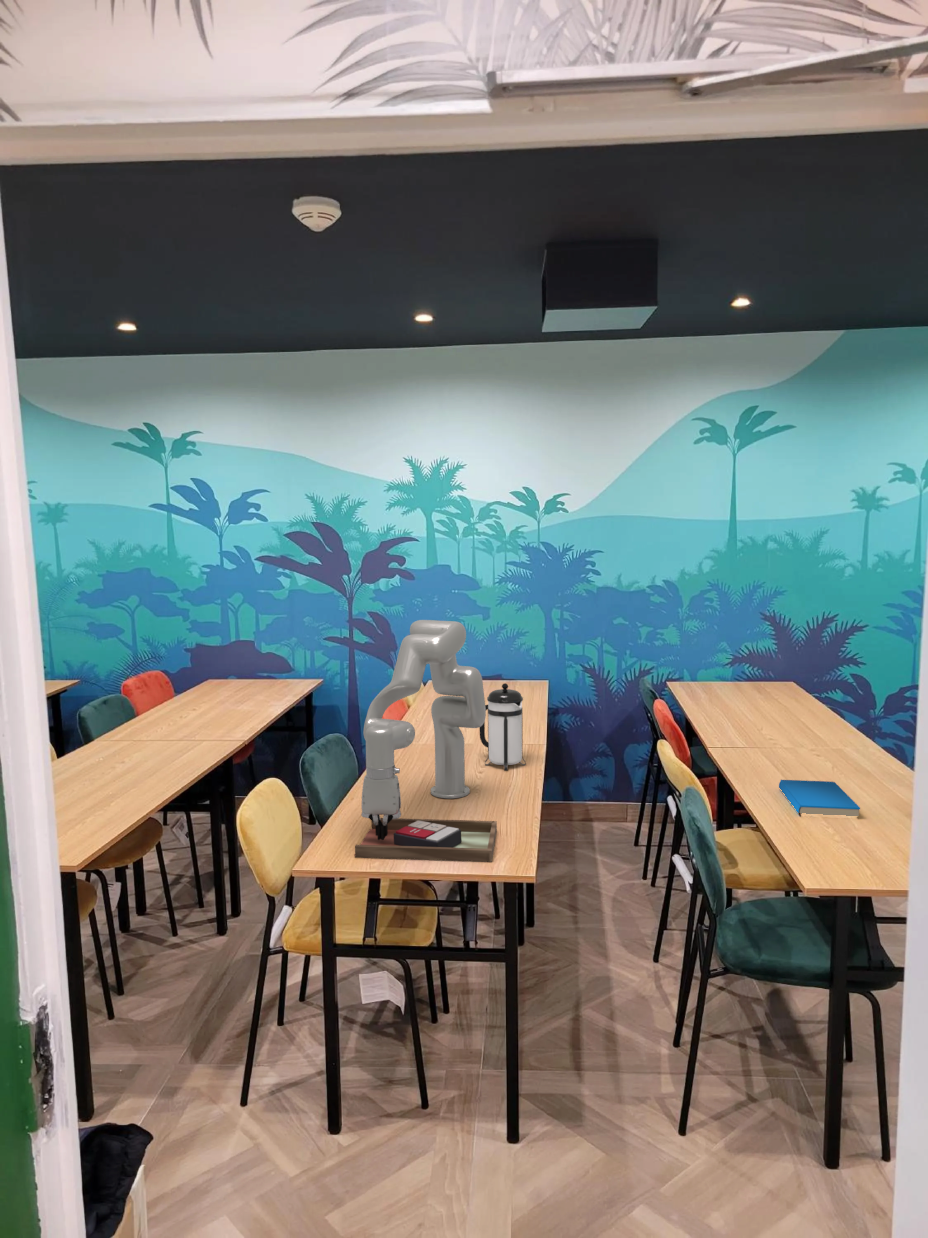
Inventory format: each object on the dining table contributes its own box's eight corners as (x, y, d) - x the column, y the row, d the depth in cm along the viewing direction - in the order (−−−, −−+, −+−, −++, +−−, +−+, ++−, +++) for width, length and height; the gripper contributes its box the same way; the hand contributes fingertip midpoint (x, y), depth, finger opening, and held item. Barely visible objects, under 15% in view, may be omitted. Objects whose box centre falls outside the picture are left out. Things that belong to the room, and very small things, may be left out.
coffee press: (526, 759, 294) (526, 679, 291) (525, 771, 278) (525, 687, 275) (479, 758, 295) (479, 678, 292) (476, 770, 280) (475, 687, 276)
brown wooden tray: (370, 827, 225) (370, 817, 225) (496, 831, 222) (496, 821, 221) (352, 857, 204) (352, 846, 204) (491, 862, 201) (491, 850, 200)
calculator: (417, 818, 221) (461, 826, 213) (418, 833, 222) (462, 842, 213) (392, 831, 212) (437, 839, 204) (393, 846, 213) (438, 856, 204)
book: (834, 781, 253) (861, 806, 228) (833, 794, 253) (860, 821, 229) (778, 779, 255) (799, 804, 231) (777, 792, 256) (798, 818, 231)
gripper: (410, 768, 215) (411, 834, 217) (356, 767, 217) (358, 832, 219) (405, 777, 208) (406, 844, 210) (349, 775, 209) (351, 842, 211)
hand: (381, 838), depth 214 cm, fingers closed
